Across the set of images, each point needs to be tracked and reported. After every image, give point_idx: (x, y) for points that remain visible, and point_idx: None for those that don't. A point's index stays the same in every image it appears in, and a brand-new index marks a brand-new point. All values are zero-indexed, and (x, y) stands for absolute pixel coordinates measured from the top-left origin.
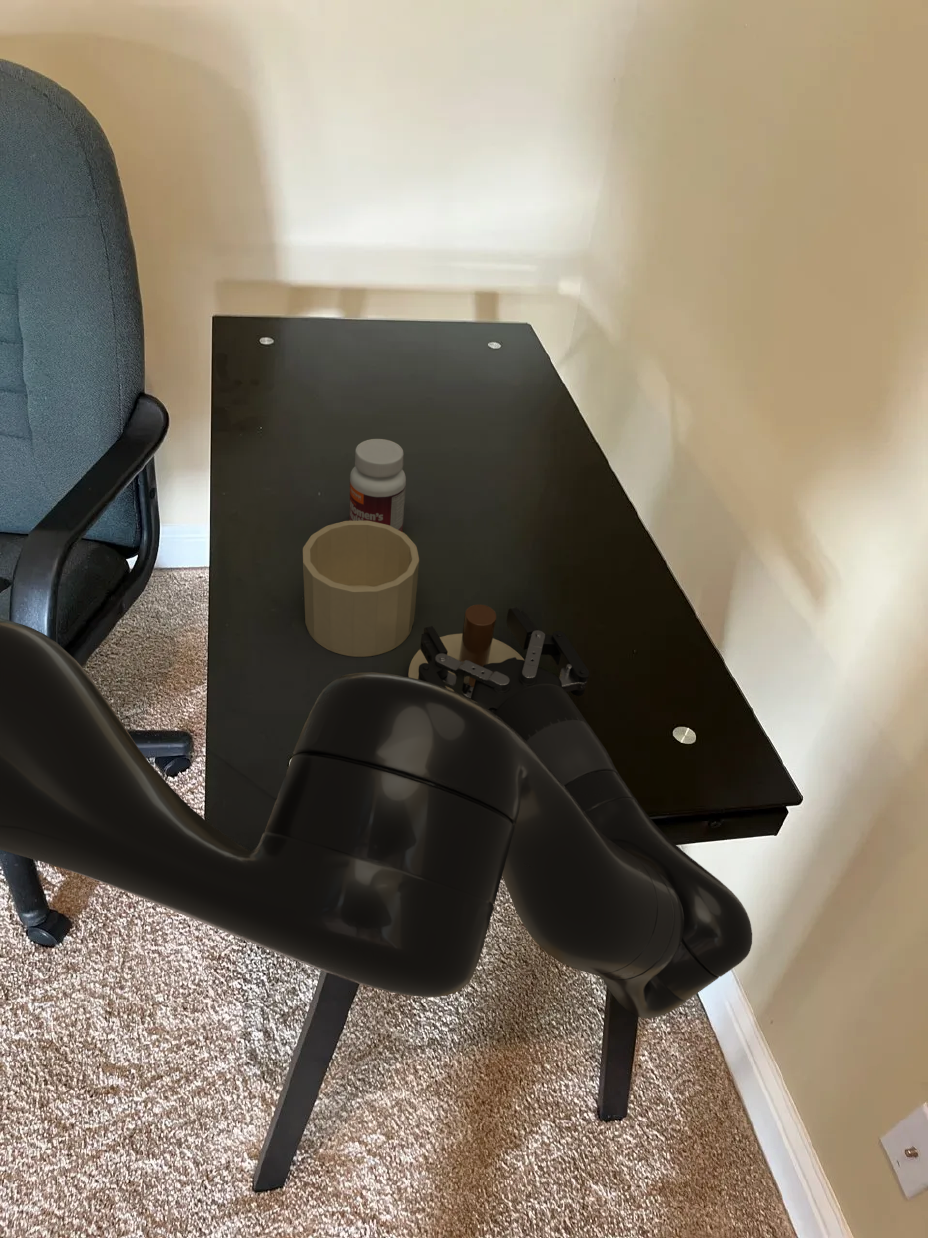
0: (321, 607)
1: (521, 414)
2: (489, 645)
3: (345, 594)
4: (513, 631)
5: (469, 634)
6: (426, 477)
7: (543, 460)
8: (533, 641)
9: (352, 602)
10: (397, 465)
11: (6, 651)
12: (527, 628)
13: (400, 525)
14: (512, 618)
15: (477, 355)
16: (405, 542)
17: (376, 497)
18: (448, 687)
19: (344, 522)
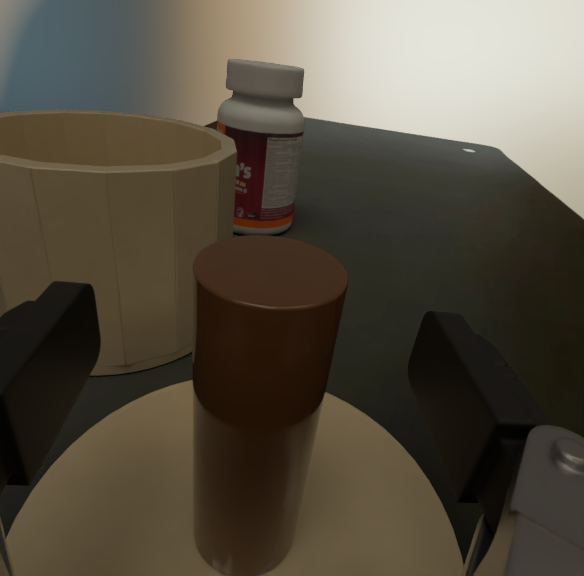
0: None
1: (491, 183)
2: (293, 432)
3: None
4: (426, 404)
5: (196, 348)
6: (358, 196)
7: (517, 213)
8: (540, 491)
9: None
10: (284, 79)
11: None
12: (500, 402)
13: (283, 202)
14: (432, 350)
15: (450, 151)
16: (220, 145)
17: (241, 130)
18: (140, 543)
19: (139, 114)
